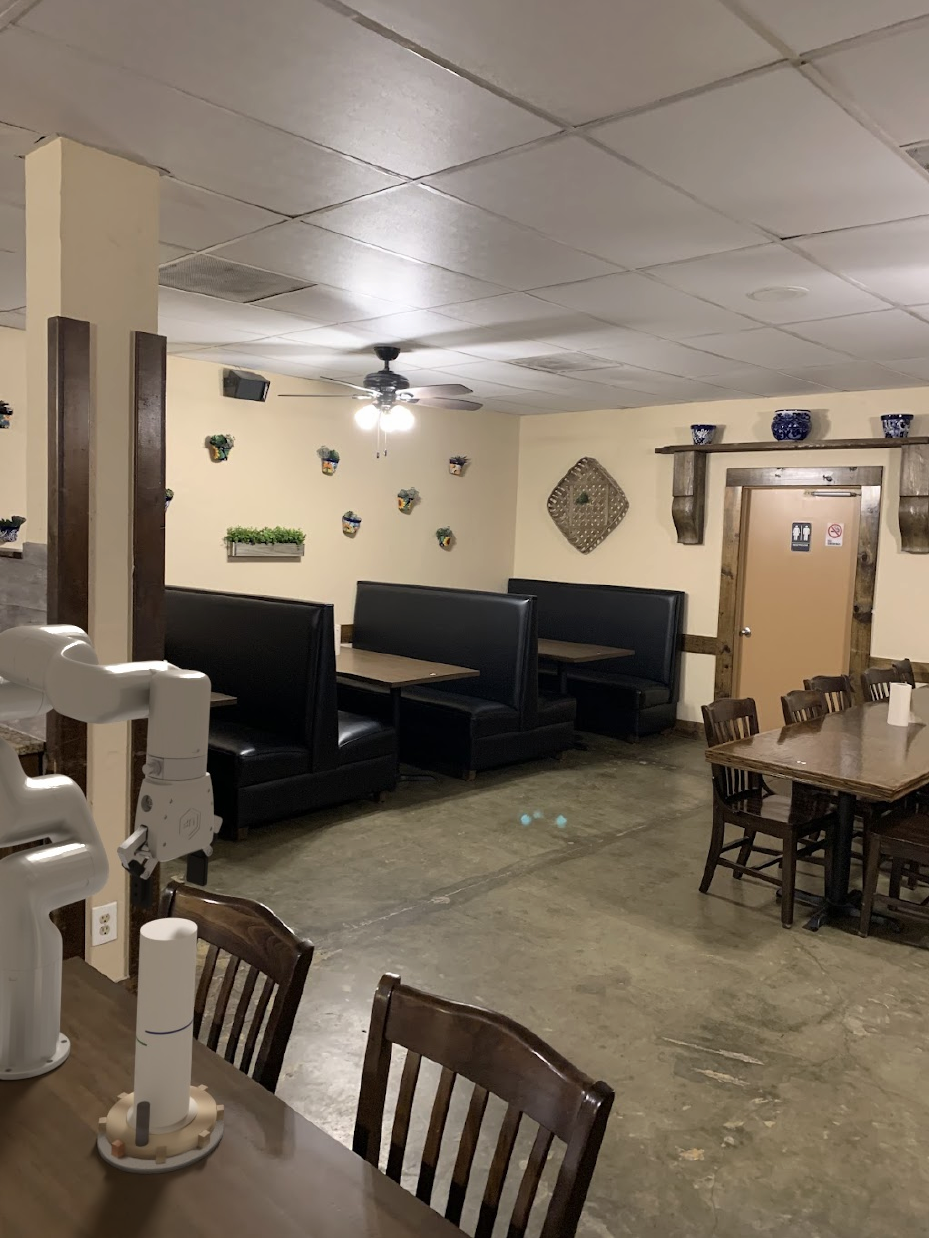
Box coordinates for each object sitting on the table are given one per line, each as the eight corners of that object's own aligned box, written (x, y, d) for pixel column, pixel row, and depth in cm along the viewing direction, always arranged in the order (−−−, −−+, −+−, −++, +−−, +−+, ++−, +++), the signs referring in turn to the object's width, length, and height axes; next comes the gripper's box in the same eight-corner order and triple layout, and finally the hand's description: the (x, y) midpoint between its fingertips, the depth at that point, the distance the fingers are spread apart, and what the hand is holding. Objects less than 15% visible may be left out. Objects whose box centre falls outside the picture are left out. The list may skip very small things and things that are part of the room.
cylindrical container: (172, 1131, 121) (180, 943, 119) (122, 1121, 123) (129, 935, 121) (198, 1100, 128) (207, 922, 126) (151, 1091, 130) (158, 914, 128)
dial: (133, 1085, 134) (134, 1041, 133) (236, 1098, 132) (238, 1054, 132) (79, 1152, 119) (81, 1103, 118) (194, 1168, 117) (197, 1118, 117)
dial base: (70, 1144, 122) (70, 1137, 122) (162, 1085, 136) (162, 1079, 136) (160, 1190, 115) (161, 1182, 115) (248, 1123, 129) (248, 1116, 129)
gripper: (146, 784, 112) (139, 923, 114) (244, 759, 128) (236, 882, 129) (102, 773, 116) (95, 907, 117) (202, 750, 131) (195, 869, 133)
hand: (169, 894), depth 123 cm, fingers open, 9 cm apart
